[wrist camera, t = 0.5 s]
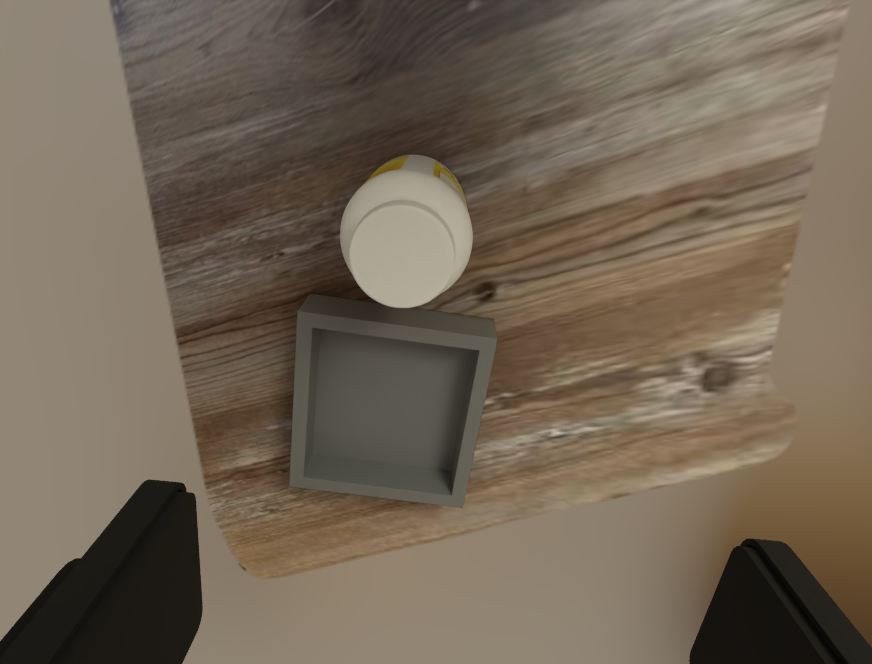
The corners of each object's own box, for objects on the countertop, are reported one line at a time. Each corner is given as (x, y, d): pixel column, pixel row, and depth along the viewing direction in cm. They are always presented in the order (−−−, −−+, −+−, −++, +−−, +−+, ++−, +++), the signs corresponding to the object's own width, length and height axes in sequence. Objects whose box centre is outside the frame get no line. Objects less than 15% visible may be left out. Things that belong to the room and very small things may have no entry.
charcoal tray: (309, 293, 38) (297, 311, 34) (493, 319, 38) (497, 338, 35) (300, 457, 43) (289, 486, 40) (461, 478, 44) (462, 507, 40)
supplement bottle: (355, 242, 36) (312, 309, 24) (374, 141, 34) (337, 161, 22) (451, 266, 37) (454, 343, 25) (477, 168, 34) (495, 202, 22)
